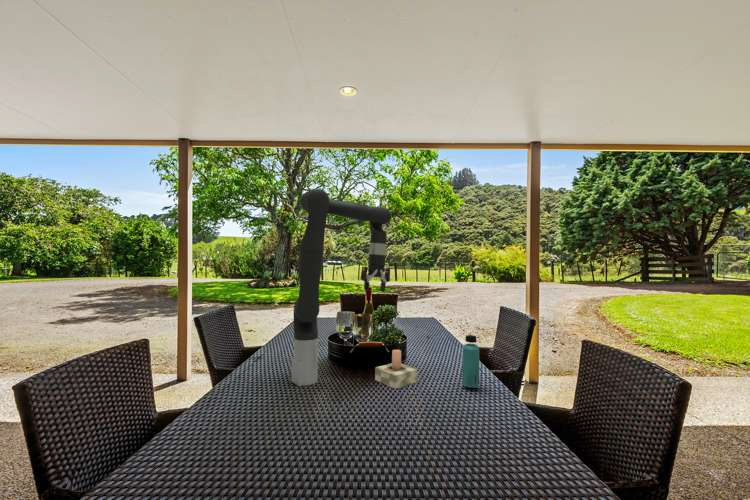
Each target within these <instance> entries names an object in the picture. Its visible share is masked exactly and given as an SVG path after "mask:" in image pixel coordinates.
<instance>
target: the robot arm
mask: <svg viewBox="0 0 750 500" xmlns="http://www.w3.org/2000/svg"><path fill="white" fill-rule="evenodd" d="M299 199H300V200H299V203H300V206H301V208H302V209H303V211H304V212H306V213H307V223H306V228H305V230H304V233H303V236H302V239H301V241H300V245H299V254H298V271H299V272H298V274H299V291H298V298H297V299H296V301H295V302H294V304H293V357H291V374H290V375H291V383H293V384H294V385H296V386H298V387H302V386H311V385H314V384H316V383H318V377H319V376H318V373H319V372H318V371H319V370H318V367H319V366H318V365H319V364H318V361H319V360H318V359H319V356H318V355H319V354H318V353H319V330H318V316H319V313H320V282H321V276H322V269H323V263H324V253H325V252H324V246H325V236H326V235H325V234H326V224H327V218H328V215H333V216H338V217H342V218H347V219H352V220H356V221H361V222H369V230H370V244H369V249H368V250H369V251H368V260H367V261H368V262H367V264H368V266H365V265H364V266H362V267H361V273H360V280H361V281H362V282H363V290H364V291H366V292H369V291H370V282H371V280H372V279H373V278H378V279H379V280H380V288H379V289H380V290H379V291H380V292H383V293H385V291H386V287H387V286H386V284H387V283H388V282H390V281H391V268H389V267H386V268H385V266H386V258H387V238H388V235H387V231H386V230H384V226H383V225H387V224H389V223H390V222H391V221H392V213H391V211H390V210H389V209H387V208H385V207H383V206H382V207H381V206H373V205H372V206H371V205H367V204H364V203H359V202H355V201H349V200H347V201H346V200H339V199H332V198H329V195H328V193H327V192H326V190H323V189H321V188H314V189H312V190H307V191H306V192H304V193H303V194H302V195H301V197H300V198H299Z"/></svg>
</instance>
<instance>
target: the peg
mask: <svg viewBox="0 0 750 500" xmlns="http://www.w3.org/2000/svg"><path fill="white" fill-rule="evenodd" d="M391 363H392V370H395V371H398V370H401V363H402V350H401V349H392V352H391Z"/></svg>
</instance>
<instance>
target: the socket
mask: <svg viewBox="0 0 750 500" xmlns="http://www.w3.org/2000/svg"><path fill="white" fill-rule="evenodd" d="M418 379H419V368H415V367H413V366H410V365H407V364H404V363H402V362H401V370H398V371H395V370H392V362H391V363H388V364H384V365H380V366H379V365H378V366H376V367H375V368H374V381H376V382H379V383H381V384H384V385H386V386H388V387H390V388H392V389H395V390H396V389H400V388H402V387H406V386H409V385H413V384H415V383H418V382H419V380H418Z"/></svg>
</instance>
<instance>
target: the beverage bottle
mask: <svg viewBox="0 0 750 500" xmlns="http://www.w3.org/2000/svg"><path fill="white" fill-rule="evenodd" d="M464 341H465V342H466V343H465V344H464V345H463V346H462V366H461V367H462V371H461V373H462V375H461V380H462V381H461V383H462V385H463V386H464V387H467V388H473V389H474V388H478V387H479V386H480V381H481V380H480V347H479V345H477V344H475V343H477V341H478V340H477V336H476V335H472V334H468V335H466V336H465V340H464Z"/></svg>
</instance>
